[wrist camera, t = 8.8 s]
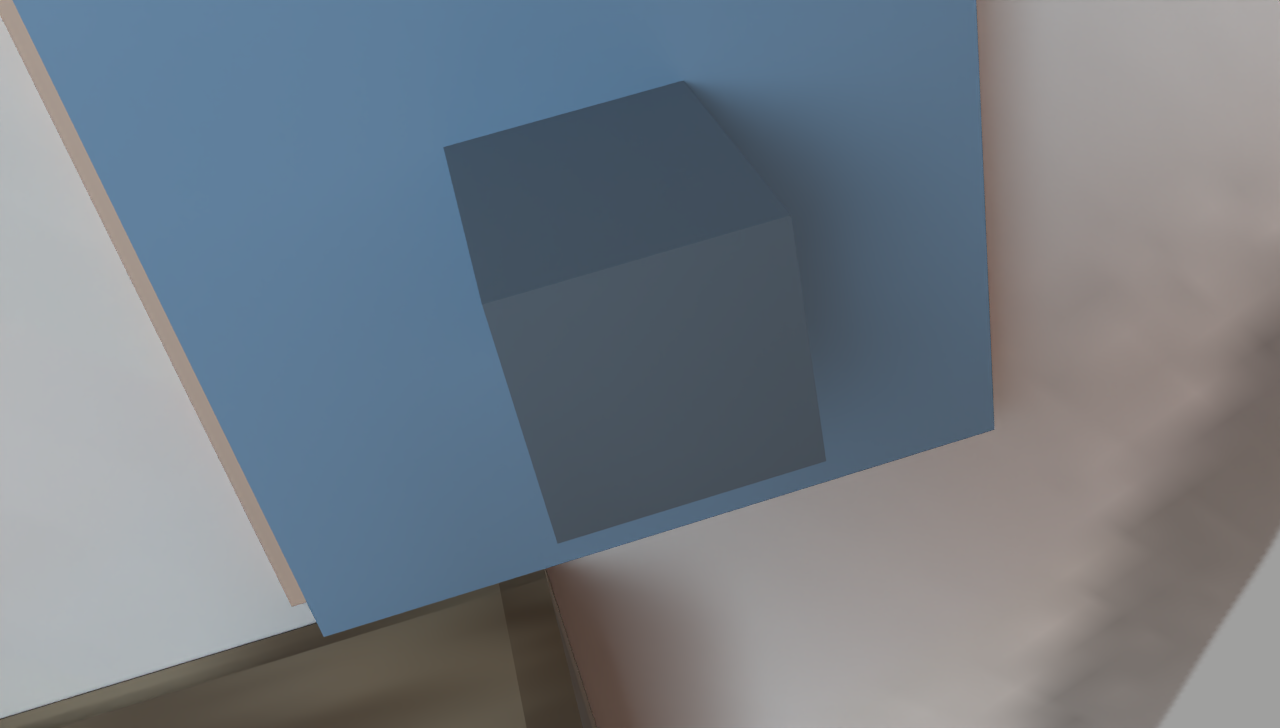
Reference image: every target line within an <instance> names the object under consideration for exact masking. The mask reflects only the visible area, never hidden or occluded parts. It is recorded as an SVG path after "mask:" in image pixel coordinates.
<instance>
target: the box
mask: <svg viewBox="0 0 1280 728" xmlns="http://www.w3.org/2000/svg"><path fill="white" fill-rule="evenodd" d="M0 728H597V727H596V724H595V721H594V718H593V715H592V712H591V709H590V706H589V702H588V699H587V696H586V693H585V690H584V687H583V684H582V681H581V678H580V674H579V671H578V668H577V665H576V662H575V659H574V656H573V653H572V650H571V647H570V643H569V640H568V637H567V634H566V631H565V628H564V625H563V622H562V619H561V616H560V612H559V609H558V606H557V603H556V600H555V597H554V594H553V591H552V588H551V584H550V581H549V578H548V575H547V572H546V569H542V570H539V571H536V572H533V573H529V574H526V575H523V576H520V577H516V578H513V579H510V580H507V581H503V582H500V583H497V584H494V585H491V586H487V587H484V588H481V589H478V590H474V591H471V592H468V593H465V594H461V595H458V596H455V597H452V598H449V599H445V600H442V601H439V602H436V603H432V604H429V605H426V606H423V607H419V608H416V609H413V610H410V611H407V612H403V613H400V614H397V615H394V616H390V617H387V618H384V619H381V620H377V621H374V622H371V623H368V624H365V625H361V626H358V627H355V628H352V629H348V630H345V631H342V632H339V633H335V634H332V635H329V636H326V637H324V636H323V634H322V632H321V630H320V628H319V626H318V624H317V623H316V624H312V625H309V626H306V627H303V628H299V629H296V630H293V631H289V632H286V633H283V634H280V635H276V636H273V637H270V638H266V639H263V640H260V641H257V642H253V643H250V644H247V645H244V646H240V647H237V648H234V649H230V650H227V651H224V652H221V653H217V654H214V655H211V656H207V657H204V658H201V659H198V660H194V661H191V662H188V663H184V664H181V665H178V666H175V667H171V668H168V669H165V670H162V671H158V672H155V673H152V674H148V675H145V676H142V677H139V678H135V679H132V680H129V681H125V682H122V683H119V684H116V685H112V686H109V687H106V688H102V689H99V690H96V691H93V692H89V693H86V694H83V695H79V696H76V697H73V698H70V699H66V700H63V701H60V702H57V703H53V704H50V705H47V706H43V707H40V708H37V709H34V710H30V711H27V712H24V713H20V714H17V715H14V716H11V717H7V718H4V719H1V720H0Z"/></svg>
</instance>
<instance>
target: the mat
mask: <svg viewBox="0 0 1280 728" xmlns="http://www.w3.org/2000/svg"><path fill="white" fill-rule="evenodd" d="M0 16H1V18H2V20H3V22H4V24H5V26H6V28H7V30H8V32H9V34H10V36H11V38H12V40H13V42H14V44H15V46H16V48H17V50H18V52H19V54H20V56H21V58H22V60H23V62H24V64H25V66H26V68H27V70H28V72H29V74H30V76H31V78H32V80H33V82H34V84H35V87H36V89H37V91H38V93H39V95H40V97H41V99H42V101H43V103H44V105H45V107H46V109H47V111H48V113H49V115H50V117H51V119H52V121H53V123H54V125H55V127H56V129H57V131H58V133H59V135H60V137H61V139H62V141H63V143H64V145H65V147H66V149H67V151H68V153H69V156H70V158H71V160H72V162H73V164H74V166H75V168H76V170H77V172H78V174H79V176H80V178H81V180H82V182H83V184H84V186H85V188H86V190H87V192H88V194H89V196H90V198H91V200H92V202H93V204H94V206H95V208H96V210H97V212H98V214H99V216H100V218H101V220H102V222H103V224H104V227H105V229H106V231H107V233H108V235H109V237H110V239H111V241H112V243H113V245H114V247H115V249H116V251H117V253H118V255H119V257H120V259H121V261H122V263H123V265H124V267H125V269H126V271H127V273H128V275H129V277H130V279H131V281H132V283H133V285H134V287H135V289H136V291H137V293H138V295H139V298H140V300H141V302H142V304H143V306H144V308H145V310H146V312H147V314H148V316H149V318H150V320H151V322H152V324H153V326H154V328H155V330H156V332H157V334H158V336H159V338H160V340H161V342H162V344H163V346H164V348H165V350H166V352H167V354H168V356H169V358H170V360H171V362H172V364H173V366H174V369H175V371H176V373H177V375H178V377H179V379H180V381H181V383H182V385H183V387H184V389H185V391H186V393H187V395H188V397H189V399H190V401H191V403H192V405H193V407H194V409H195V411H196V413H197V415H198V417H199V419H200V421H201V423H202V425H203V427H204V429H205V431H206V433H207V435H208V438H209V440H210V442H211V444H212V446H213V448H214V450H215V452H216V454H217V456H218V458H219V460H220V462H221V464H222V466H223V468H224V470H225V472H226V474H227V476H228V478H229V480H230V482H231V484H232V486H233V488H234V490H235V492H236V494H237V496H238V498H239V500H240V502H241V504H242V506H243V509H244V511H245V513H246V515H247V517H248V519H249V521H250V523H251V525H252V527H253V529H254V531H255V533H256V535H257V537H258V539H259V541H260V543H261V545H262V547H263V549H264V551H265V553H266V555H267V557H268V559H269V561H270V563H271V565H272V567H273V569H274V571H275V573H276V575H277V577H278V580H279V582H280V584H281V586H282V588H283V590H284V592H285V594H286V596H287V598H288V600H289V602H290V604H291V606H296V605H299V604H302V603H306V600H305V598H304V596H303V594H302V591H301V589H300V587H299V585H298V583H297V581H296V579H295V577H294V575H293V573H292V571H291V569H290V567H289V565H288V563H287V561H286V559H285V557H284V555H283V553H282V551H281V549H280V546H279V544H278V542H277V540H276V538H275V536H274V534H273V532H272V530H271V528H270V526H269V524H268V522H267V520H266V518H265V516H264V514H263V512H262V510H261V508H260V506H259V504H258V501H257V499H256V497H255V495H254V493H253V491H252V489H251V487H250V485H249V483H248V481H247V479H246V477H245V475H244V473H243V471H242V469H241V467H240V465H239V463H238V461H237V459H236V456H235V454H234V452H233V450H232V448H231V446H230V444H229V442H228V440H227V438H226V436H225V434H224V432H223V430H222V428H221V426H220V424H219V422H218V420H217V418H216V416H215V414H214V411H213V409H212V407H211V405H210V403H209V401H208V399H207V397H206V395H205V393H204V391H203V389H202V387H201V385H200V383H199V381H198V379H197V377H196V375H195V373H194V371H193V369H192V366H191V364H190V362H189V360H188V358H187V356H186V354H185V352H184V350H183V348H182V346H181V344H180V342H179V340H178V338H177V336H176V334H175V332H174V330H173V328H172V326H171V324H170V321H169V319H168V317H167V315H166V313H165V311H164V309H163V307H162V305H161V303H160V301H159V299H158V297H157V295H156V293H155V291H154V289H153V287H152V285H151V283H150V281H149V279H148V276H147V274H146V272H145V270H144V268H143V266H142V264H141V262H140V260H139V258H138V256H137V254H136V252H135V250H134V248H133V246H132V244H131V242H130V240H129V238H128V236H127V234H126V231H125V229H124V227H123V225H122V223H121V221H120V219H119V217H118V215H117V213H116V211H115V209H114V207H113V205H112V203H111V201H110V199H109V197H108V195H107V193H106V191H105V189H104V186H103V184H102V182H101V180H100V178H99V176H98V174H97V172H96V170H95V168H94V166H93V164H92V162H91V160H90V158H89V156H88V154H87V152H86V150H85V148H84V146H83V144H82V141H81V139H80V137H79V135H78V133H77V131H76V129H75V127H74V125H73V123H72V121H71V119H70V117H69V115H68V113H67V111H66V109H65V107H64V105H63V103H62V101H61V99H60V96H59V94H58V92H57V90H56V88H55V86H54V84H53V82H52V80H51V78H50V76H49V74H48V72H47V70H46V68H45V66H44V64H43V62H42V60H41V58H40V56H39V54H38V51H37V49H36V47H35V45H34V43H33V41H32V39H31V37H30V35H29V33H28V31H27V29H26V27H25V25H24V23H23V21H22V19H21V17H20V15H19V13H18V11H17V9H16V6H15V4H14V2H13V0H0Z"/></svg>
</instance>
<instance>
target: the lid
mask: <svg viewBox="0 0 1280 728" xmlns="http://www.w3.org/2000/svg"><path fill="white" fill-rule="evenodd" d="M13 2H14V4H15V6H16V9H17V11H18V13H19V15H20V17H21V19H22V21H23V23H24V25H25V27H26V29H27V31H28V33H29V35H30V37H31V39H32V41H33V43H34V45H35V47H36V49H37V51H38V54H39V56H40V58H41V60H42V62H43V64H44V66H45V68H46V70H47V72H48V74H49V76H50V78H51V80H52V82H53V84H54V86H55V88H56V90H57V92H58V94H59V96H60V99H61V101H62V103H63V105H64V107H65V109H66V111H67V113H68V115H69V117H70V119H71V121H72V123H73V125H74V127H75V129H76V131H77V133H78V135H79V137H80V139H81V141H82V144H83V146H84V148H85V150H86V152H87V154H88V156H89V158H90V160H91V162H92V164H93V166H94V168H95V170H96V172H97V174H98V176H99V178H100V180H101V182H102V184H103V186H104V189H105V191H106V193H107V195H108V197H109V199H110V201H111V203H112V205H113V207H114V209H115V211H116V213H117V215H118V217H119V219H120V221H121V223H122V225H123V227H124V229H125V231H126V234H127V236H128V238H129V240H130V242H131V244H132V246H133V248H134V250H135V252H136V254H137V256H138V258H139V260H140V262H141V264H142V266H143V268H144V270H145V272H146V274H147V276H148V279H149V281H150V283H151V285H152V287H153V289H154V291H155V293H156V295H157V297H158V299H159V301H160V303H161V305H162V307H163V309H164V311H165V313H166V315H167V317H168V319H169V321H170V324H171V326H172V328H173V330H174V332H175V334H176V336H177V338H178V340H179V342H180V344H181V346H182V348H183V350H184V352H185V354H186V356H187V358H188V360H189V362H190V364H191V366H192V369H193V371H194V373H195V375H196V377H197V379H198V381H199V383H200V385H201V387H202V389H203V391H204V393H205V395H206V397H207V399H208V401H209V403H210V405H211V407H212V409H213V411H214V414H215V416H216V418H217V420H218V422H219V424H220V426H221V428H222V430H223V432H224V434H225V436H226V438H227V440H228V442H229V444H230V446H231V448H232V450H233V452H234V454H235V456H236V459H237V461H238V463H239V465H240V467H241V469H242V471H243V473H244V475H245V477H246V479H247V481H248V483H249V485H250V487H251V489H252V491H253V493H254V495H255V497H256V499H257V501H258V504H259V506H260V508H261V510H262V512H263V514H264V516H265V518H266V520H267V522H268V524H269V526H270V528H271V530H272V532H273V534H274V536H275V538H276V540H277V542H278V544H279V546H280V549H281V551H282V553H283V555H284V557H285V559H286V561H287V563H288V565H289V567H290V569H291V571H292V573H293V575H294V577H295V579H296V581H297V583H298V585H299V587H300V589H301V591H302V594H303V596H304V598H305V600H306V602H307V604H308V606H309V608H310V610H311V612H312V614H313V616H314V618H315V620H316V622H317V624H318V626H319V628H320V630H321V632H322V634H323V636H324V637H326V636H329V635H332V634H335V633H339V632H342V631H345V630H348V629H352V628H355V627H358V626H361V625H365V624H368V623H371V622H374V621H377V620H381V619H384V618H387V617H390V616H394V615H397V614H400V613H403V612H407V611H410V610H413V609H416V608H419V607H423V606H426V605H429V604H432V603H436V602H439V601H442V600H445V599H449V598H452V597H455V596H458V595H461V594H465V593H468V592H471V591H474V590H478V589H481V588H484V587H487V586H491V585H494V584H497V583H500V582H503V581H507V580H510V579H513V578H516V577H520V576H523V575H526V574H529V573H533V572H536V571H539V570H542V569H545V568H549V567H552V566H555V565H558V564H562V563H565V562H568V561H571V560H575V559H578V558H581V557H584V556H587V555H591V554H594V553H597V552H600V551H604V550H607V549H610V548H613V547H617V546H620V545H623V544H626V543H630V542H633V541H636V540H639V539H642V538H646V537H649V536H652V535H655V534H659V533H662V532H665V531H668V530H672V529H675V528H678V527H681V526H684V525H688V524H691V523H694V522H697V521H701V520H704V519H707V518H710V517H714V516H717V515H720V514H723V513H726V512H730V511H733V510H736V509H739V508H743V507H746V506H749V505H752V504H756V503H759V502H762V501H765V500H768V499H772V498H775V497H778V496H781V495H785V494H788V493H791V492H794V491H798V490H801V489H804V488H807V487H810V486H814V485H817V484H820V483H823V482H827V481H830V480H833V479H836V478H840V477H843V476H846V475H849V474H852V473H856V472H859V471H862V470H865V469H869V468H872V467H875V466H878V465H882V464H885V463H888V462H891V461H894V460H898V459H901V458H904V457H907V456H911V455H914V454H917V453H920V452H924V451H927V450H930V449H933V448H936V447H940V446H943V445H946V444H949V443H953V442H956V441H959V440H962V439H966V438H969V437H972V436H975V435H979V434H982V433H985V432H988V431H991V430H994V408H993V384H992V361H991V338H990V314H989V291H988V267H987V244H986V220H985V197H984V174H983V150H982V127H981V103H980V80H979V56H978V33H977V10H976V0H13Z"/></svg>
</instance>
